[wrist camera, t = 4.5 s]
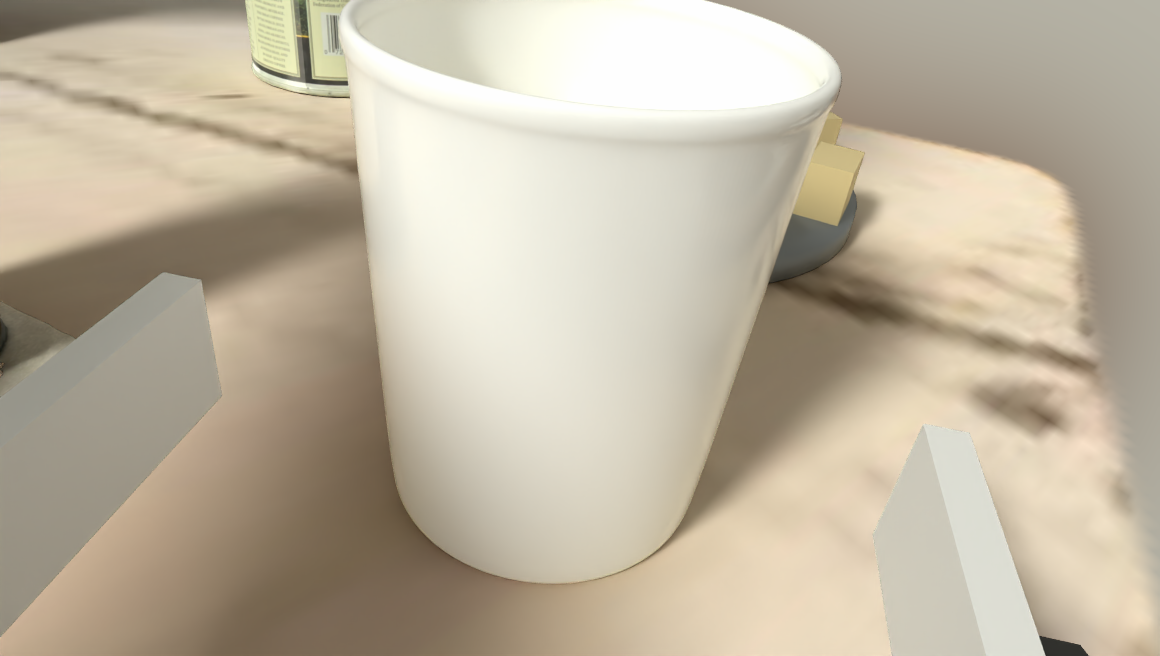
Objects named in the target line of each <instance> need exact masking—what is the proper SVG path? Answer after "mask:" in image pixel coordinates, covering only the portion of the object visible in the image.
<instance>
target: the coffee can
mask: <svg viewBox="0 0 1160 656" xmlns="http://www.w3.org/2000/svg"><path fill="white" fill-rule="evenodd" d="M349 1H350V0H245V4H246V12H247V20H248V28H249V36H250V43H251V51H252V60H253V62H252V70H253V73H254V74H255V75H256V76H257V77H258V78H259V79H261V80H262V81H264V82H266V83H268V84H270V85H272V86H275V87H278V88H282V89H285V90H289V91H293V92H297V93H305V94H309V95H316V96H327V97H350V94H349V86H348V78H347V70H346V64H345V58H344V53H343V50H342V47H341V44H340V40H339V33H338V21H339V16H340V13H341V11H342V9H343V7H344V6H345V5H346V4H347V3H348V2H349Z"/></svg>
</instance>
